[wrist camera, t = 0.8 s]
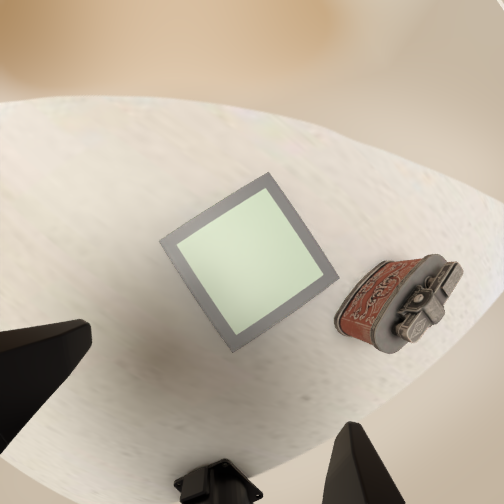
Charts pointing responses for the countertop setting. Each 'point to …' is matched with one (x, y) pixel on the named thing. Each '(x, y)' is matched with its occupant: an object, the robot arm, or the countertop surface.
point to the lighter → (398, 301)
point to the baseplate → (249, 261)
